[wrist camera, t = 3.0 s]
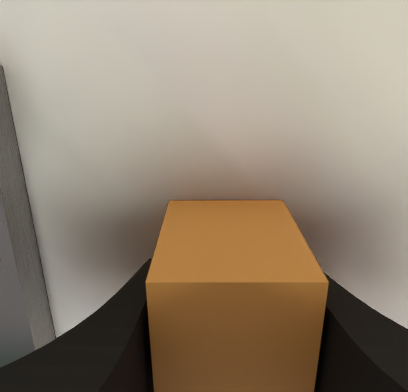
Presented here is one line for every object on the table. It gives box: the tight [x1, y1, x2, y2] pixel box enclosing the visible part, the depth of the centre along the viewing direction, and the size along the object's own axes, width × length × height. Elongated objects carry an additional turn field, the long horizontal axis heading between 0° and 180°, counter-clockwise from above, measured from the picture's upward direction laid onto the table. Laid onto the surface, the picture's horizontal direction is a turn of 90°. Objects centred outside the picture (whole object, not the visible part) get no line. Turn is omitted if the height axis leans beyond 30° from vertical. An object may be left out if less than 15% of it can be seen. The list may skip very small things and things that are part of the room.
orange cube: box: [146, 200, 329, 392], centre depth 11 cm, size 4×5×5 cm
